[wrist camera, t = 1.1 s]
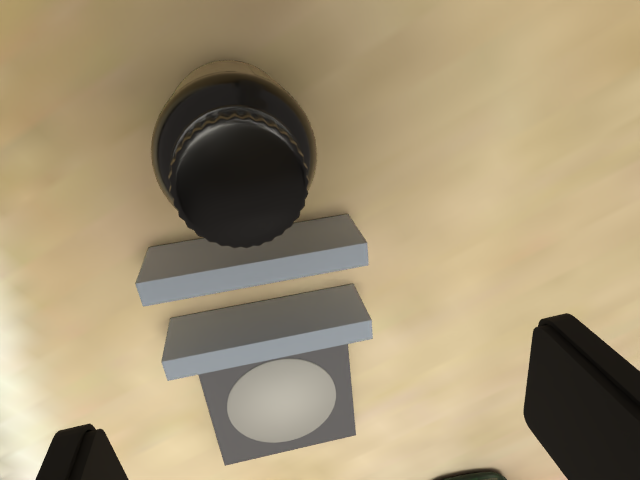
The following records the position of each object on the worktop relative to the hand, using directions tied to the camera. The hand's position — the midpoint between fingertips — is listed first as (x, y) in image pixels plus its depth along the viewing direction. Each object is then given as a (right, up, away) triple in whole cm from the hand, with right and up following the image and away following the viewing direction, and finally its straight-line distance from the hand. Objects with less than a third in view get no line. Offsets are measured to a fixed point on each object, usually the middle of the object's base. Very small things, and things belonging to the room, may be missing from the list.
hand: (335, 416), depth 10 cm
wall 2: (-4, -1, +22) cm, 22 cm away
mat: (-3, -8, +25) cm, 27 cm away
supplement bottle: (-5, +11, +16) cm, 20 cm away
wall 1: (-5, +4, +19) cm, 20 cm away
